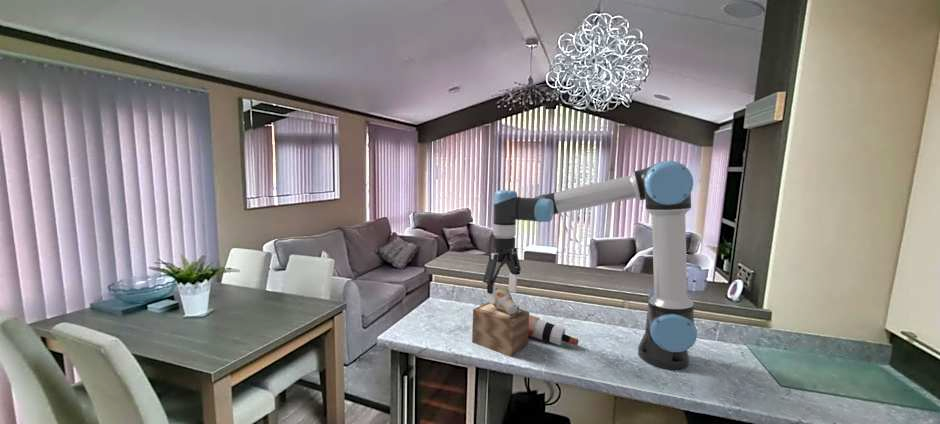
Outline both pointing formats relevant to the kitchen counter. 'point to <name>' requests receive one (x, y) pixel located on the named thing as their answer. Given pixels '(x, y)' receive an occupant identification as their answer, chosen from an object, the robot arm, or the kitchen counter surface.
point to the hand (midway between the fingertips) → (502, 297)
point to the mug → (505, 302)
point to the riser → (500, 329)
